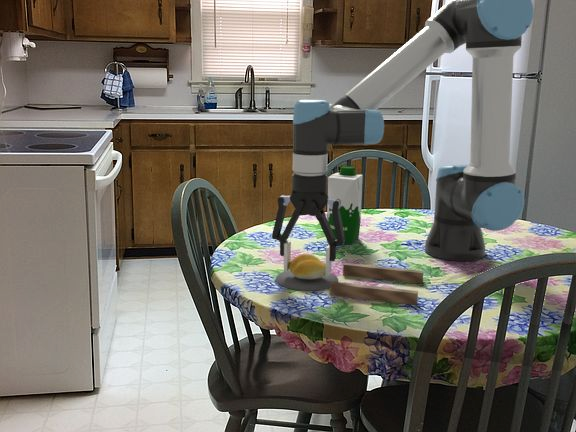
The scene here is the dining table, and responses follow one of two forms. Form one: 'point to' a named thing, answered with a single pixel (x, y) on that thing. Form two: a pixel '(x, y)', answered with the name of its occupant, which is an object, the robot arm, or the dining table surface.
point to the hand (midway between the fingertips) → (307, 272)
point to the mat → (305, 282)
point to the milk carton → (346, 201)
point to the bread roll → (307, 267)
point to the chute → (375, 291)
